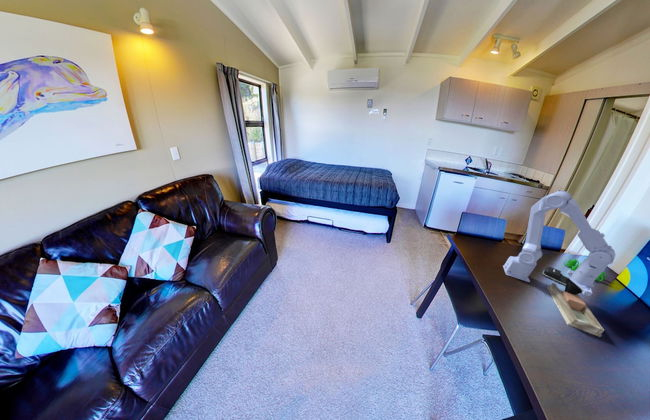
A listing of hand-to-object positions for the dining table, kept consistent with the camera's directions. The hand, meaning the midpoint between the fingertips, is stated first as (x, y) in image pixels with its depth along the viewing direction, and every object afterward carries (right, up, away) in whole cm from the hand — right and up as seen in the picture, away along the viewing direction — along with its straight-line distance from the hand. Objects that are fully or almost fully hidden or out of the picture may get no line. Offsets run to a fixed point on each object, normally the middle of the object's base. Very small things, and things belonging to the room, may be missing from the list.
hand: (567, 295), depth 90 cm
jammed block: (-2, -2, -3) cm, 4 cm away
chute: (-3, -4, -4) cm, 6 cm away
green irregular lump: (+32, +4, +20) cm, 38 cm away
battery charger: (+14, +2, +8) cm, 16 cm away
